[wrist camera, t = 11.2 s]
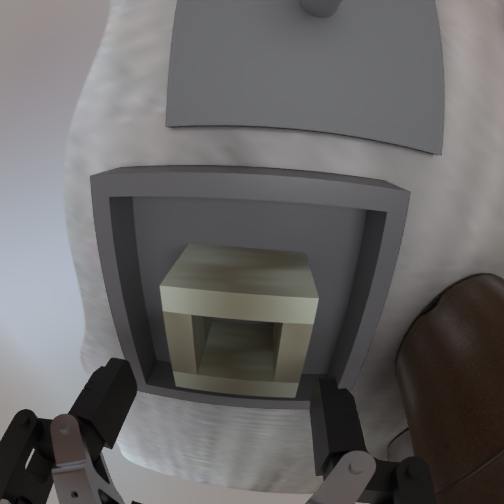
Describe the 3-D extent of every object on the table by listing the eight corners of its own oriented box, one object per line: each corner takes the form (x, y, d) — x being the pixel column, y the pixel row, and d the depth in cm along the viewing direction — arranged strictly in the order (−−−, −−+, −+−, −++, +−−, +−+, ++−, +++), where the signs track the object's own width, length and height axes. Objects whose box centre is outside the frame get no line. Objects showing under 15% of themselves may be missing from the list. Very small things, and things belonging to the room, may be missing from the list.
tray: (336, 376, 18) (343, 408, 16) (149, 361, 19) (135, 390, 16) (384, 180, 13) (410, 191, 10) (120, 167, 13) (90, 175, 11)
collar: (305, 252, 14) (319, 298, 10) (290, 341, 16) (294, 397, 12) (188, 243, 14) (159, 285, 10) (193, 333, 17) (175, 386, 13)
